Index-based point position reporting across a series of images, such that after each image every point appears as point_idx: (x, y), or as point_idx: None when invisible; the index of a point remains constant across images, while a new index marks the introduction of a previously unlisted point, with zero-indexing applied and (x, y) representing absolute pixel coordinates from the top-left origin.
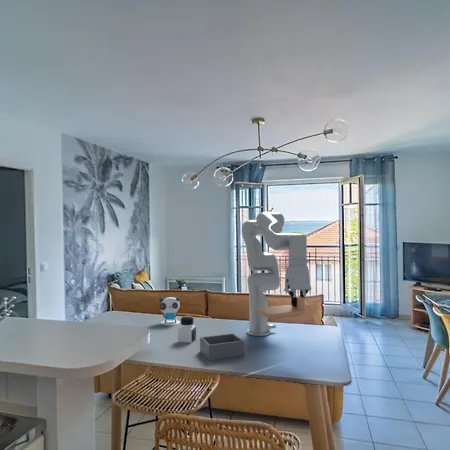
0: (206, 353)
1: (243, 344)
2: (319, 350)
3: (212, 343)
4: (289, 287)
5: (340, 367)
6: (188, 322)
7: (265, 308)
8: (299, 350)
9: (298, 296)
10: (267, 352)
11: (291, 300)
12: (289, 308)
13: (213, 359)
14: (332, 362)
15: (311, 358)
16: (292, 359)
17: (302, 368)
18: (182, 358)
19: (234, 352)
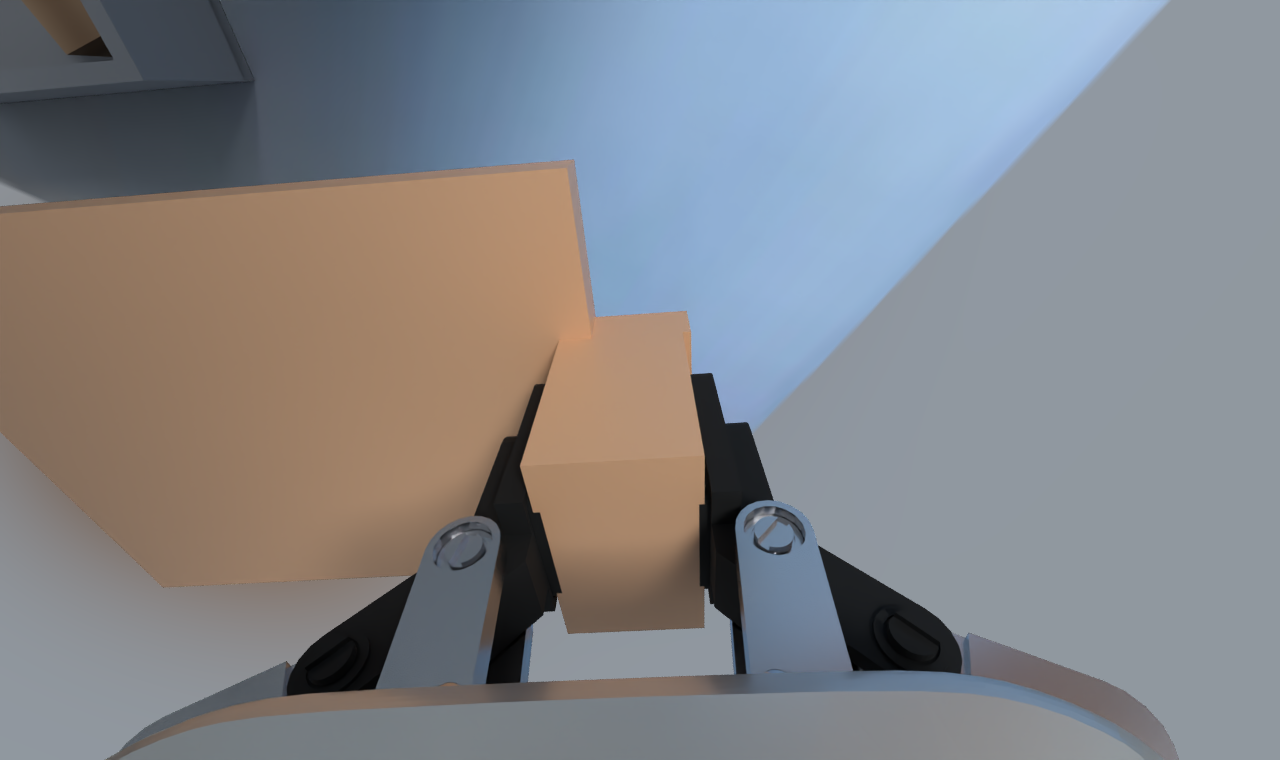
0: None
1: (163, 80)
2: (867, 118)
3: None
4: (314, 738)
5: (766, 392)
6: None
7: (47, 342)
8: (727, 63)
9: (664, 524)
10: (455, 19)
11: (491, 480)
12: (466, 442)
13: (1, 102)
14: (778, 333)
15: (709, 247)
16: (588, 227)
17: None
18: None
19: (134, 88)
